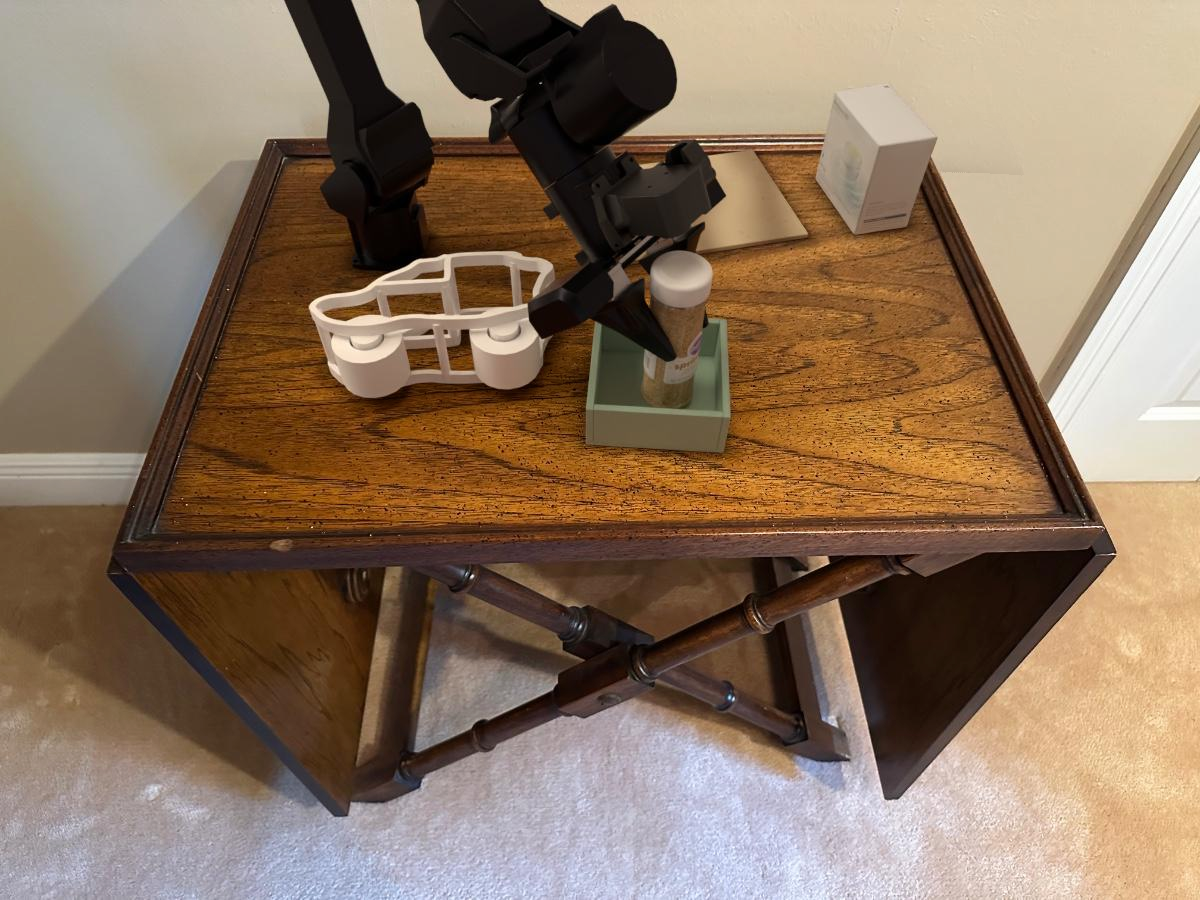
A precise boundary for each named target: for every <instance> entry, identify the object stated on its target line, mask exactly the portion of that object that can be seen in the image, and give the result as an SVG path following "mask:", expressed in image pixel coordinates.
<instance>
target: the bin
mask: <svg viewBox="0 0 1200 900" xmlns="http://www.w3.org/2000/svg"><path fill="white" fill-rule="evenodd" d="M727 320H728V319H726V318H715V317H714V318H711V317H708V322H709V325H708V326H707V327H706V328H703V329H702V338H701V344H700V350H699V357H698V363H697V369H696V372H695V376H694V382H693V397H692V400H691V401H690V402H689V403H688V404H687V405H686V406H684V407H683V408H681V409H669V408H654V407H652V406H651V405H649V404H648V403H647V402H646V401H645V400H644V399H643V397H642V394H641V385H642V382H643V377H644V353H645V349H644V348H643V347H641V346H639V345H638V344H636V343H634V342H633V341H631V340H630V339H628V338H626V337H625V336H623V335H621V334H620V333H618V332H616V331H614V330H612V329H610V328H608V327H605V326H603V325H601V324H599V323H597V322H595V321H594V328H593V336H592V337H593V338H592V346H591V347H592V349H591V355H590V356H591V358H590V365H589V366H590V367H589V378H588V385H587V386H588V387H587V396H586V406H585V445H586V446H601V447H603V446H604V447H620V448H635V449H651V450H671V451H683V452H685V451H687V452H701V453H702V452H703V453H719V454H720V453H721V454H724V453H725V448H726V443H727V437H728V433H729V427H730V424H731V419H732V413H731V411H732V410H731V391H730V390H731V389H730V365H729V341H728V340H729V339H728V321H727Z"/></svg>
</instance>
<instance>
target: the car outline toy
mask: <svg viewBox="0 0 1200 900" xmlns="http://www.w3.org/2000/svg"><path fill="white" fill-rule="evenodd" d="M476 266H477V267H478V266H482V267H483V266H504V267H509V270H510V271H509V273H510V284H511V294H512V303H513V306H494V307H472V308H470V307H469V308H463V309H462V308H461V305H460V304H461V303H460V298H459V292H458V285H457V279H456V273H455V269H456V268H462V267H476ZM520 270H521V271H526V272H537V273H539V275H538V277H537V279H536V282H535V283H534V286H533V289H532V299H533V298H534V297H535V296H536V295H538V294H539V293H540V292H541V291H542V290H544V289H545V288H546V287H547V286H548V285H550V284H551V283H552V282H553V281H555V280H556V277H555V276H556V275H555V268H554V264H553V263H552V262H550V261H549V260H547V259H544V258H541V257H531V256H524V255H523V254H522V253H520V252H518V251H513V250H512V251H508V250H507V251H505V250H503V251H498V250H497V251H495V250H494V251H467V252H455V253H449V254H446V253H443V254H442V255H439V256H436V257H428V258H420V259H418V260H416V261H414V262H412V263H411V264H409V265H408V266H406V267H404V268H402V269H399V270H393V271H391V272H389V273H386V274H384V275H382V276H380V277H377V279H375V280H373V281H372V282H371V283H370V284H368V285H367V286H366V287H363V288H362V289H359V290H355V291H349V292H340V293H331V294H330V293H329V294H326V295H323V296H320V297H318V298H315V299H314V300H313V301H312V302H311V303H310V304H309V305H308V310H309V312H310V315H311V318H312V320H313V321H314V323H315V326H316V330H317V332H318V336H319V338H320V341H321V345H322V346H323V350H324V352H325V356H326V358H327V366H328V369H329V371H330V374H331V375H332V377H334V378H335V379H336V380H337V382H339V383H340V384H341V385H343V386H344V387H345V388H346V390H348V391H349V392H350V393H351V394H353V395H355V396H358V397H362V398H369V399H377V398H383V397H387V396H389V395H392V394H394V393H396V392H397V391H398V390H400V389H402V388H403V387H407V386H410V385H415V384H422V383H425V384H426V383H435V384H452V385H453V384H454V385H455V384H457V385H459V384H460V385H465V384H469V385H470V384H485V385H486V386H488V387H490V388H495V389H497V390H512V389H513V390H514V389H518V388H521V387H524V386H525V385H528V384H530V382H532V381H533V380H534V379H536V377H537V376H538V374H539V372H540V370H541V368H542V367H543V366H544V354H545V353H544V352H545V350H546V348H547V345H548V343H549V341H550V340H551V339H552V338H553V337H554V335H552V336H550V337H547V338H545V339H541V338H540V336H539V335H538V333H537V332H536V331H535V329H534V328H533V326H532V325H531V323H530V322H529V318H528V304H527V303H523V295H522V282H521V271H520ZM441 271H443V277H442V278H422V279H421V278H420V279H416V278H417V277H419V276H420V275H422V274H427V273H436V272H441ZM438 293H440V295H441V301H442V308H443V312H444V313H436V314H426V313H425V314H424V313H410V314H409V313H408V314H401V315H395V316H392V313H391V309H390V306H389V301H388V298H387V296H400V295H401V296H402V295H417V294H418V295H420V294H438ZM374 300H376V301H377V304H378V308H379V312H380V314H364V315H359V316H356V317H353V318H350V319H349V320H346V321H345V320H340V319H335V318H331V317H329V316H326V315H325V314H324V312H326V311H330V310H335V309H339V308H340V309H341V308H350V307H357V306H362V305H365V304H367V303H370V302H372V301H374ZM430 330H432V331H433V334H427V335H426V333H427V332H428V331H430ZM444 330H446V331H447V333H446V334H445V331H444ZM462 330H468V331H469V332H468V334H469V340H470V346H471V353H472V360H473V367H474V370H451V364H450V359H449V354H448V349H447V348H451V347H452V348H453V347H458V346H460V345H461V342H462ZM331 334H333V335H332V337H331ZM424 334H425V335H424ZM433 348H434V349H435V348H436V352H437V357H438V363H439V368H440V369H417V370H411V366H410V361H409V357H408V353H407V350H417V349H418V350H421V349H433Z"/></svg>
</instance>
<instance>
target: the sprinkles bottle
mask: <svg viewBox="0 0 1200 900" xmlns="http://www.w3.org/2000/svg"><path fill="white" fill-rule="evenodd" d="M713 277H714V271H713V268H712V265H711V264H710V262H709V261H708V260H707V259H706V258H704V257H703V256H701V254H695V253H692V252H688V251H671V252H667V253H664V254H662V255H660V256H659V257H658V258H656V259H655V261H654V262H653V264H652V266H651V272H650V275H649V280H648V281H649V282H648V288H649V294H650V298H649V299H650V300H649V308H650V309H651V311H652V313H653V314H654V316H655V318H656V319H657V321H658V322H659V324H660V326H661V327H662V329H663V331H664V332H665V334H666V335H667V337H668V339H669V340H670V342H671V344H672V346H673V348H674V351H675V353H676V355H677V358H676V359H675V360H674V361H670V362H665V361H664V360H662V359H660V358H659V357H657V356H656V355H654V354H652V353H651V352H649V351H647V350H646V349H645V353H644V377H643V382H642V385H641V394H642V397H643V399H644V400H645V401H646V402H647V403H648V404H649V405H651V406H652V407H654V408H669V409H681V408H683V407H684V406H686V405H687V404H688V403H689V402H690V401H691V400H692V397H693V382H694V376H695V372H696V369H697V363H698V357H699V350H700V344H701V338H702V327H703V320H704V313H705V308H706V307H707V306H706V305H707V300H708V298H709V296H710V294H711V290H712V285H713V284H712V283H713Z"/></svg>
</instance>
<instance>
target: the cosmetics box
mask: <svg viewBox="0 0 1200 900" xmlns="http://www.w3.org/2000/svg"><path fill="white" fill-rule="evenodd" d="M833 94H834V95H833V99H832V103H831V108H830V111H829V112H830V114H829V117H828V121H827V127H826V130H825V135H824V140H823V143H822V148H821V151H820V152H821V153H820V157H819V162H818V165H817V170H816V176H815V177H814V178H815V181H816V182H817V184H818V185H819V187H820V188H821V190H822V191H823V193H824V194H825V195H826V197H827V198H828V199H829V201H830V203H831V204H832V205H833V206H834V208H835V210H836V211H837V213H838V214H839V216H840V217H841V218H842V220H843V221H844V223H845V224H846V225H847V227H848V229H849V230H850V231H851V233H852V234H853V235H854V236H856V235H863V234H864V235H865V234H869V233H875V232H883V231H888V230H896V229H903V228H906V227H908V225H909V222H910V218H911V215H912V212H913V208H914V206H915V202H916V199H917V197H918V195H919V191H920V188H921V185H922V182H923V179H924V176H925V174H926V171H927V169H928V165H929V163H930V160H931V158H932V154H933V152H934V150H935V146H936V145H937V141H938V135H937V134H936V133H935V132H934V131H933V130H932V129H931V128H930V127H929V125H928V124H926V122H925V121H924V119H922V117H920V116H919V115H918V113H917V112H916V111H915V110H914V109H913V107H911V106H910V104H909V103H908V102H907V101H906V100H905V99H904V97H902V95H900V93H899V92H898V91H897V90H896V89H895V87H893V86H892V84H891V83H890V82H885V83H880V84H879V83H878V84H872V85H866V86H865V85H864V86H858V87H853V88H845V89H839V90H834V93H833Z"/></svg>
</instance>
